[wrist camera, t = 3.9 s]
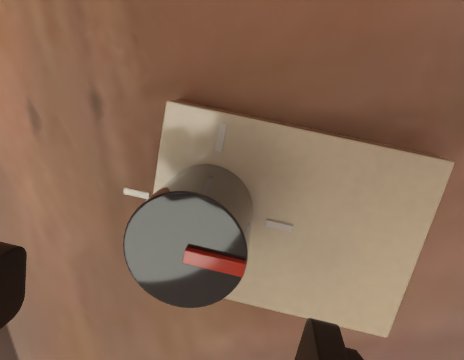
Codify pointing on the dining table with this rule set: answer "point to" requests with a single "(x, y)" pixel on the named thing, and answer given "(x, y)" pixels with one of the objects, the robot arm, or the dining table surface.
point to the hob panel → (314, 211)
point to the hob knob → (191, 237)
